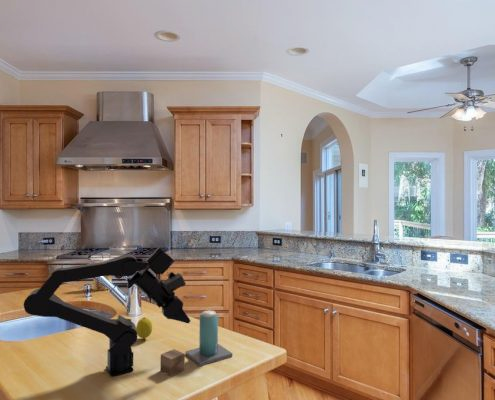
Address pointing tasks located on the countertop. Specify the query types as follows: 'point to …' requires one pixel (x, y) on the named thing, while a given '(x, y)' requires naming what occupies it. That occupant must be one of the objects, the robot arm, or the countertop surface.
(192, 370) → the countertop surface
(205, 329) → the spice jar
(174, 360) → the walnut block
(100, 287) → the candy box
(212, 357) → the slate coaster
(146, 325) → the lemon
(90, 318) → the robot arm
